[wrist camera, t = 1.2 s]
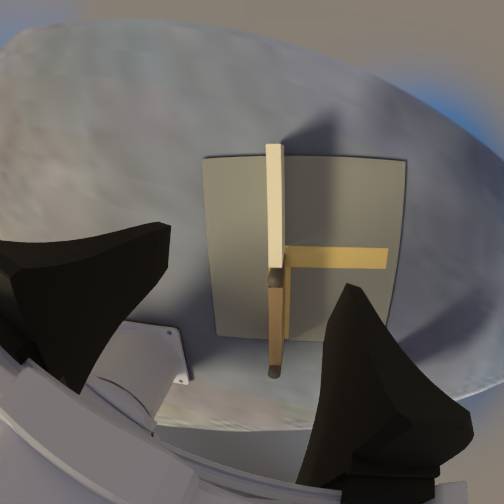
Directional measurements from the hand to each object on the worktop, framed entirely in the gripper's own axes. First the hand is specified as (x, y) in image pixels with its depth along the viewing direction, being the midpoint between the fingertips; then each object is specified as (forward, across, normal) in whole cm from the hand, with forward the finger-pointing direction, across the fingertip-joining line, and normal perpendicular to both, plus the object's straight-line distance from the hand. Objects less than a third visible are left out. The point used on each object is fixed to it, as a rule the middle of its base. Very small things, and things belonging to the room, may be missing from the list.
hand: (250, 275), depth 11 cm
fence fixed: (+11, -2, +9) cm, 15 cm away
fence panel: (+12, +1, +1) cm, 12 cm away
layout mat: (+12, -2, +5) cm, 13 cm away
